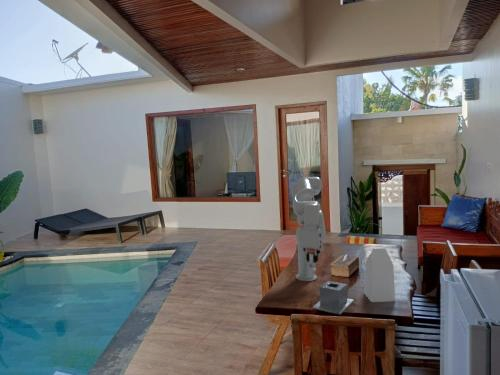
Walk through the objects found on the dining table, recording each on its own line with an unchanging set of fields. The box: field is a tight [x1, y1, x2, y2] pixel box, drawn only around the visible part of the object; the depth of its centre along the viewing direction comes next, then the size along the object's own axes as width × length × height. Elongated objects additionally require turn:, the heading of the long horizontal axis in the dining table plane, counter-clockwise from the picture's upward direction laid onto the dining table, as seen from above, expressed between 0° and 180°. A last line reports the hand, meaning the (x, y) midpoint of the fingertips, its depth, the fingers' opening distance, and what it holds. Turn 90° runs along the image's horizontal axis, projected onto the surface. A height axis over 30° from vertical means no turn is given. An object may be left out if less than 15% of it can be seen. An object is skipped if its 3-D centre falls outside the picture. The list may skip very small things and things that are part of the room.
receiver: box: [312, 280, 355, 316], centre depth 194 cm, size 18×14×10 cm
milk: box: [363, 247, 396, 303], centre depth 201 cm, size 12×12×26 cm
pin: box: [307, 249, 316, 268], centre depth 205 cm, size 6×6×10 cm
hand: (312, 261), depth 205 cm, fingers closed on pin, 3 cm apart
